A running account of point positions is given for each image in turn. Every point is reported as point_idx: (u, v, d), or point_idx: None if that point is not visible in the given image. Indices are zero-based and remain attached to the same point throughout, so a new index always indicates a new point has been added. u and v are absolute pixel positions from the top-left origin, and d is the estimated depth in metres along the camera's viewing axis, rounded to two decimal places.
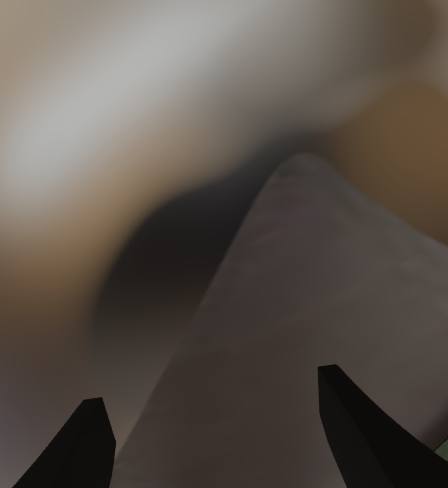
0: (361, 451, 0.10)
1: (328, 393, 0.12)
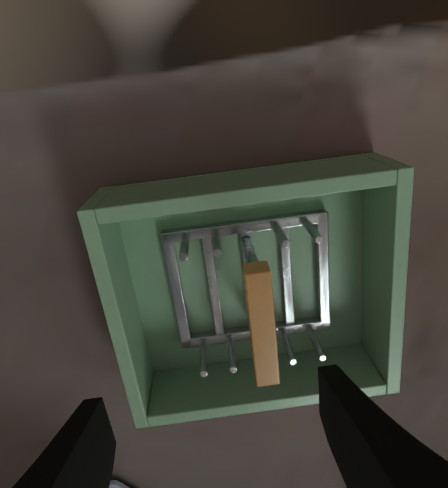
0: (361, 451, 0.10)
1: (328, 393, 0.12)
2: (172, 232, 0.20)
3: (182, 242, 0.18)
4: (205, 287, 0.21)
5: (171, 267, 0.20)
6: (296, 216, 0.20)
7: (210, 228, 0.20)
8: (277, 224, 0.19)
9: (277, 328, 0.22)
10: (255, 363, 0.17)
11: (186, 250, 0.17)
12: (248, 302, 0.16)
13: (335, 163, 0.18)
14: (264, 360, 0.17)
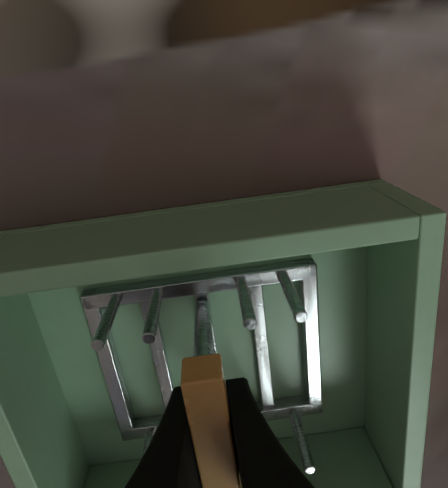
0: None
1: None
2: (96, 294, 0.14)
3: (104, 314, 0.13)
4: (151, 361, 0.16)
5: None
6: (272, 270, 0.14)
7: (150, 288, 0.14)
8: (243, 284, 0.13)
9: None
10: None
11: (104, 331, 0.12)
12: (190, 423, 0.10)
13: (326, 199, 0.13)
14: None
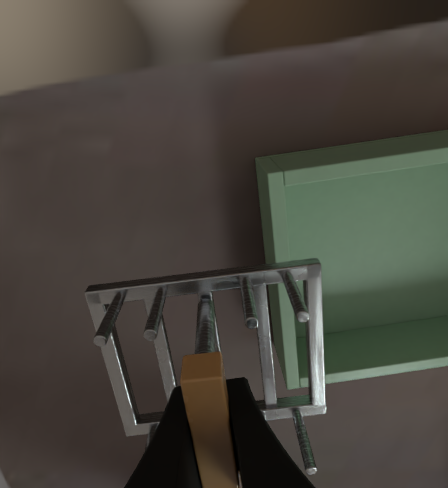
0: None
1: None
2: (101, 290, 0.14)
3: (107, 311, 0.13)
4: (345, 254, 0.22)
5: None
6: (276, 270, 0.14)
7: (154, 286, 0.14)
8: (247, 283, 0.13)
9: None
10: None
11: (107, 327, 0.12)
12: (189, 420, 0.10)
13: None
14: None
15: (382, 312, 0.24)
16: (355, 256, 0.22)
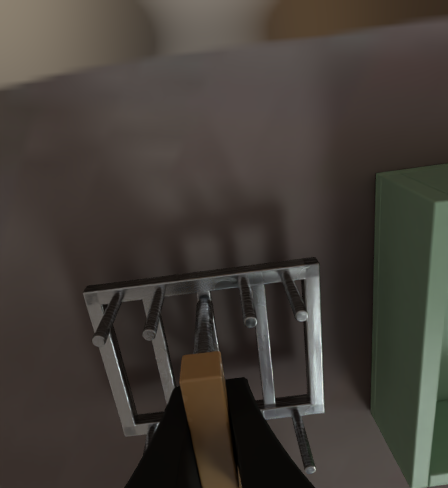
0: None
1: None
2: (99, 291, 0.14)
3: (106, 311, 0.13)
4: None
5: None
6: (274, 269, 0.14)
7: (152, 286, 0.14)
8: (245, 283, 0.13)
9: None
10: None
11: (106, 328, 0.12)
12: (189, 420, 0.10)
13: None
14: None
15: None
16: None
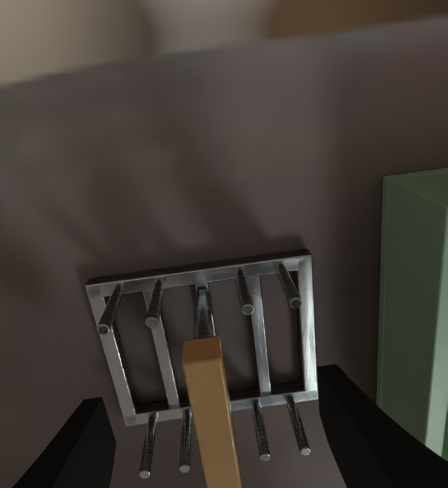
0: (361, 451, 0.10)
1: (328, 393, 0.12)
2: (101, 283, 0.14)
3: (109, 302, 0.13)
4: None
5: None
6: (269, 261, 0.15)
7: (152, 278, 0.14)
8: (242, 274, 0.14)
9: (249, 400, 0.17)
10: (206, 477, 0.12)
11: (109, 317, 0.12)
12: (191, 401, 0.11)
13: None
14: (219, 474, 0.12)
15: None
16: None
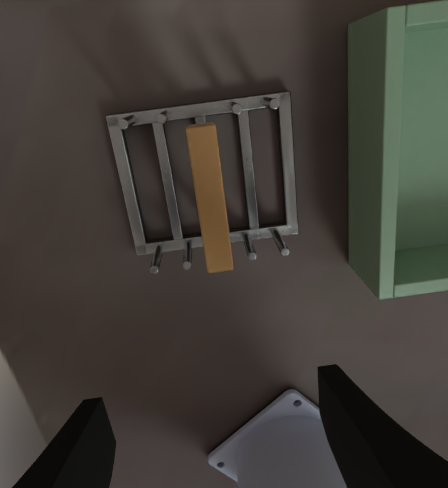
0: (361, 451, 0.10)
1: (328, 393, 0.12)
2: (119, 114, 0.18)
3: (126, 117, 0.17)
4: (442, 149, 0.19)
5: (120, 157, 0.18)
6: (255, 96, 0.18)
7: (160, 109, 0.18)
8: (233, 101, 0.17)
9: (240, 232, 0.20)
10: (204, 243, 0.16)
11: (127, 119, 0.16)
12: (192, 165, 0.14)
13: None
14: (214, 239, 0.15)
15: None
16: None
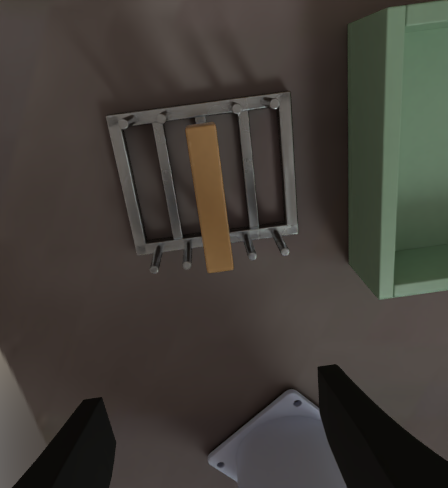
0: (361, 451, 0.10)
1: (328, 393, 0.12)
2: (119, 114, 0.18)
3: (126, 117, 0.17)
4: (442, 149, 0.19)
5: (120, 157, 0.18)
6: (255, 96, 0.18)
7: (160, 109, 0.18)
8: (233, 101, 0.17)
9: (240, 232, 0.20)
10: (204, 243, 0.16)
11: (127, 119, 0.16)
12: (192, 165, 0.14)
13: None
14: (214, 239, 0.15)
15: None
16: None
